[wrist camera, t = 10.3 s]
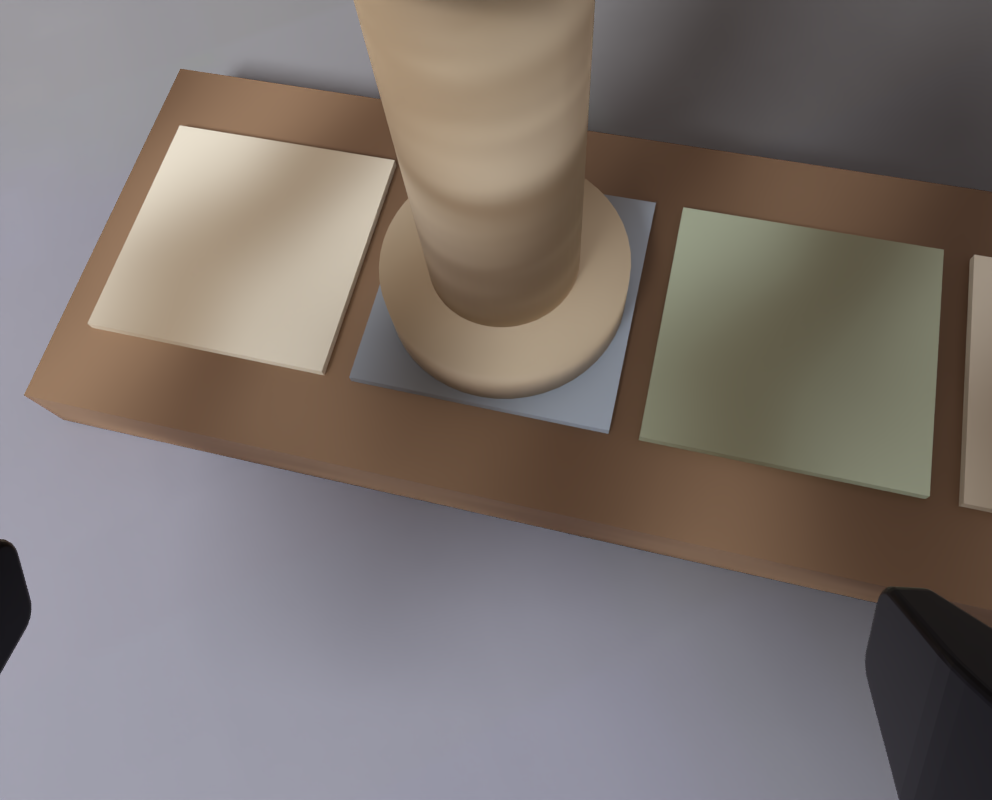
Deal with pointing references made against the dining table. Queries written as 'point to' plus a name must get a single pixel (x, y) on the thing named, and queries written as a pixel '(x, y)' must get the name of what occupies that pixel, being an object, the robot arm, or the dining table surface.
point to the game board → (595, 393)
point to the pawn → (495, 193)
